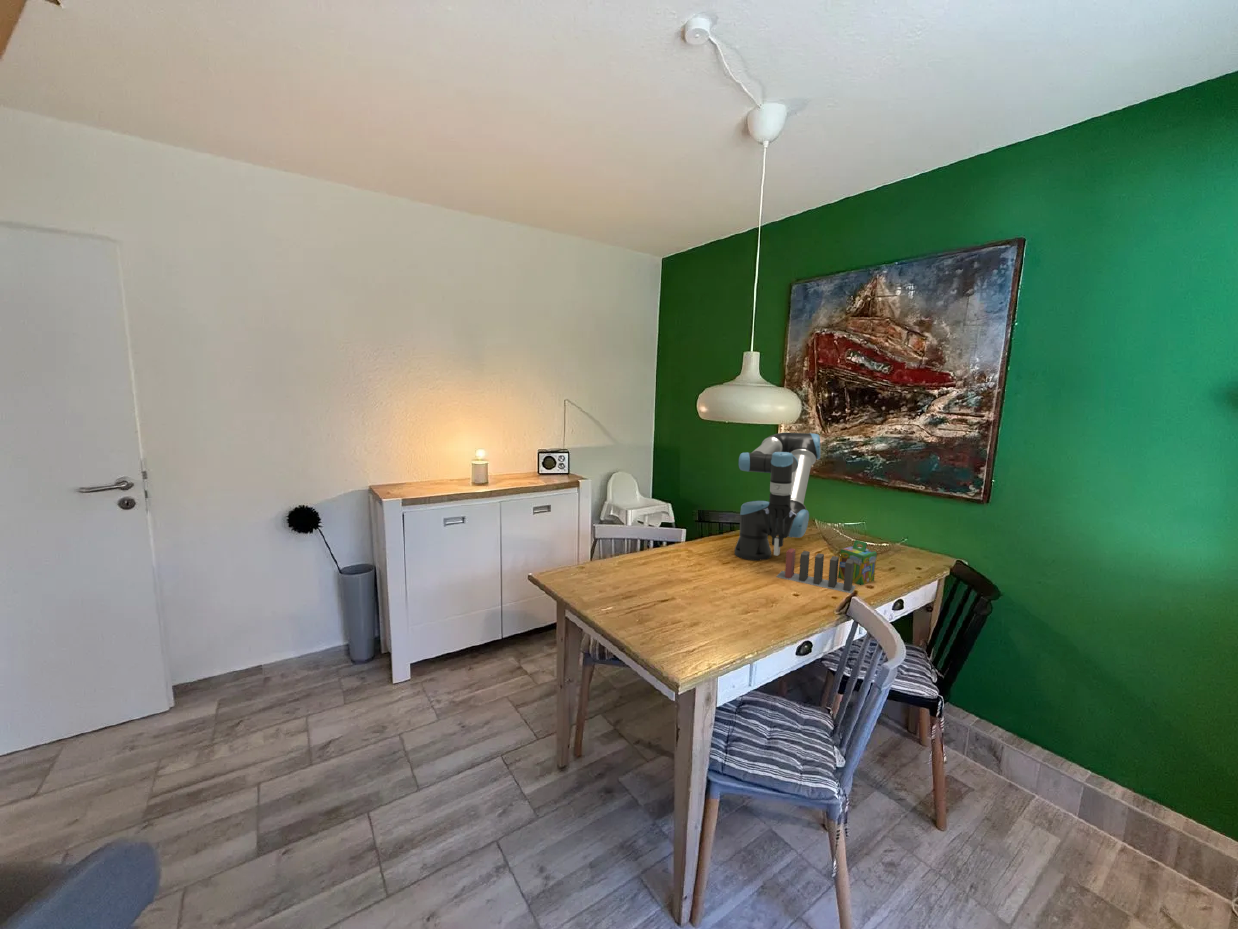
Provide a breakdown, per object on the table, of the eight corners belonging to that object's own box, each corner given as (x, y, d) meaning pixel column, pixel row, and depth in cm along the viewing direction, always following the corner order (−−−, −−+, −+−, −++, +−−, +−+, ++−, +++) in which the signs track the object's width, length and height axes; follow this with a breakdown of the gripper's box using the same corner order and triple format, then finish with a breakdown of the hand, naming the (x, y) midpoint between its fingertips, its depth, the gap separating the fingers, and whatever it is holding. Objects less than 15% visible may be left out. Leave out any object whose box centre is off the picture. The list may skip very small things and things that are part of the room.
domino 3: (813, 583, 171) (815, 556, 169) (816, 579, 175) (818, 553, 174) (819, 584, 170) (820, 558, 168) (822, 580, 174) (824, 554, 172)
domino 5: (843, 590, 165) (845, 562, 164) (845, 585, 169) (848, 558, 168) (849, 591, 164) (851, 563, 163) (852, 586, 168) (854, 559, 167)
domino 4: (828, 586, 168) (830, 559, 167) (830, 582, 172) (832, 555, 171) (834, 588, 167) (836, 560, 165) (836, 583, 171) (838, 557, 170)
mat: (775, 577, 177) (775, 576, 177) (782, 571, 184) (782, 570, 183) (851, 594, 162) (852, 593, 162) (855, 587, 169) (855, 586, 169)
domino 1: (784, 577, 177) (786, 551, 175) (788, 573, 181) (790, 548, 179) (790, 578, 175) (791, 552, 174) (793, 574, 180) (795, 549, 178)
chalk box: (837, 578, 177) (840, 540, 175) (851, 573, 182) (854, 536, 180) (861, 587, 169) (864, 547, 167) (875, 581, 174) (878, 542, 172)
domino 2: (798, 580, 174) (800, 554, 172) (802, 576, 178) (804, 550, 176) (804, 581, 173) (806, 555, 171) (808, 577, 177) (809, 551, 175)
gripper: (759, 492, 177) (756, 553, 180) (795, 497, 170) (791, 560, 173) (766, 489, 183) (763, 548, 186) (801, 494, 176) (797, 555, 179)
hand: (776, 554), depth 180 cm, fingers closed
